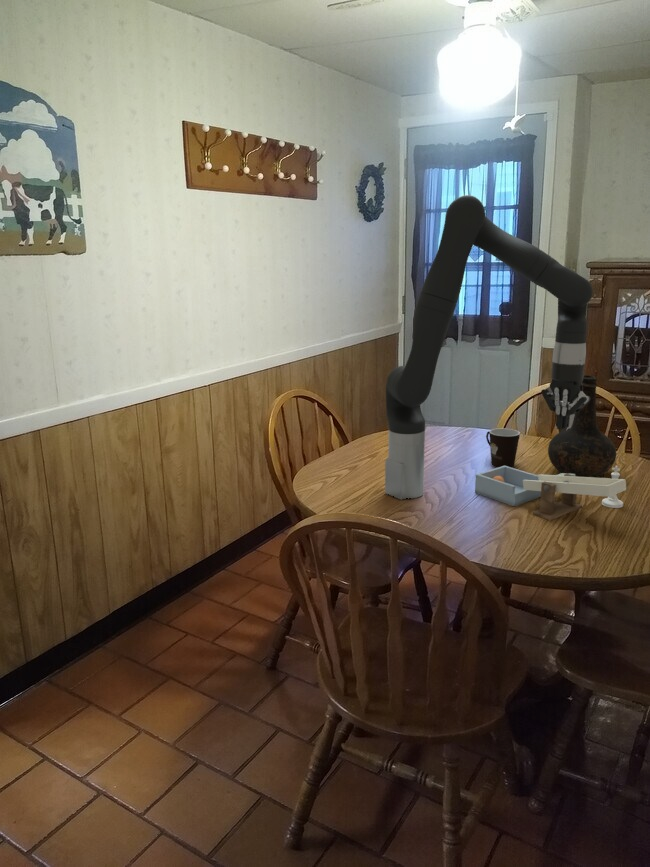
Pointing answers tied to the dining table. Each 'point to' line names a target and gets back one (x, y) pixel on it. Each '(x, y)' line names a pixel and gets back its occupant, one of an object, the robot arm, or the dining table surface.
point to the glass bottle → (583, 441)
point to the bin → (506, 485)
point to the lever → (578, 485)
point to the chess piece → (613, 500)
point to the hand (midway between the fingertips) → (562, 429)
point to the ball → (499, 478)
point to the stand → (557, 509)
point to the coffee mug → (503, 446)
